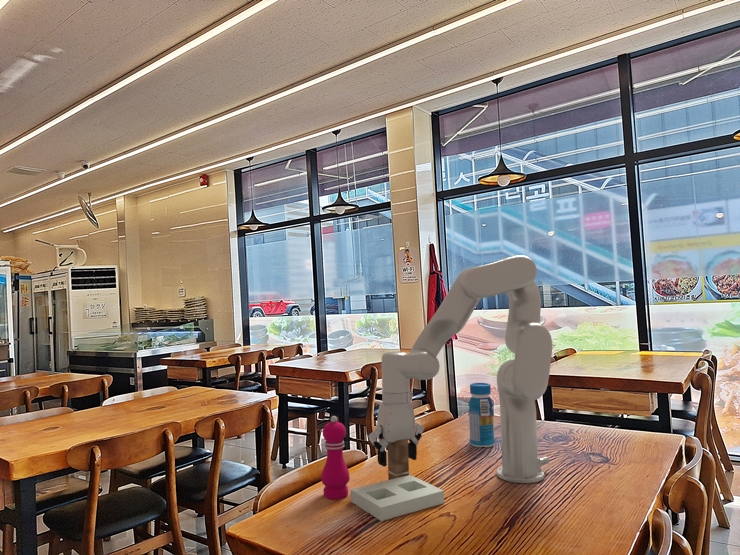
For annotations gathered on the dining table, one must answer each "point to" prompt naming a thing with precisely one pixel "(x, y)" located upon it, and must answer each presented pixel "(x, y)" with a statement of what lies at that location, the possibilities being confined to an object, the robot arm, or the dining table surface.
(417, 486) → the board
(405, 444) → the peg
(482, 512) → the dining table surface
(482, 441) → the beverage bottle
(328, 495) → the pepper mill
